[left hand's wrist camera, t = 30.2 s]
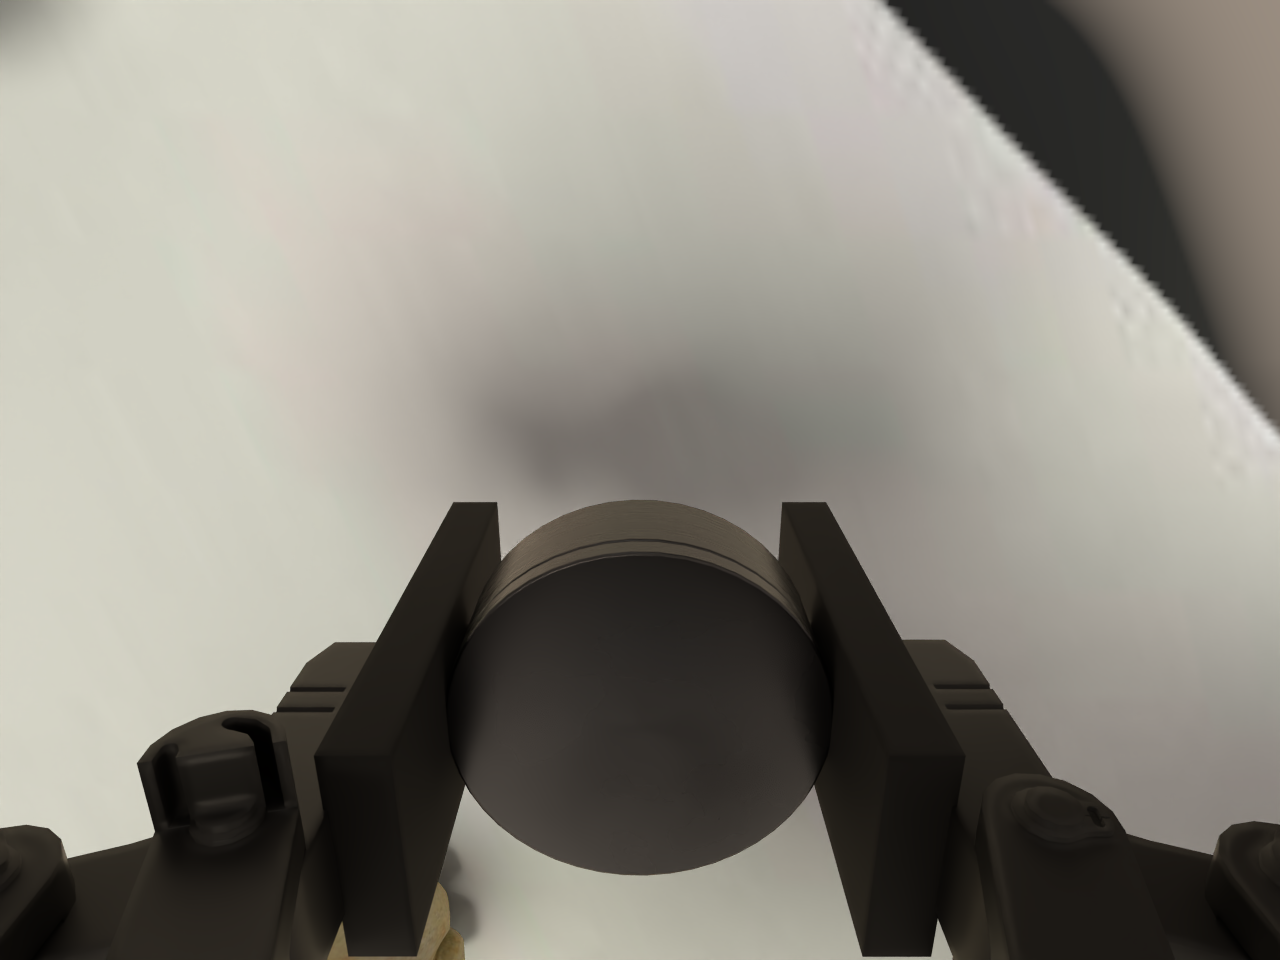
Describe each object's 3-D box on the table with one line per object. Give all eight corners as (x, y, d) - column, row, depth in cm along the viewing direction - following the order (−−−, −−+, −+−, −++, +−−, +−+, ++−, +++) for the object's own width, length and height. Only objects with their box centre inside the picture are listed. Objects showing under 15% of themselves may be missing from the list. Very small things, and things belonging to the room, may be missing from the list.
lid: (488, 795, 13) (467, 881, 11) (450, 504, 11) (420, 560, 10) (804, 785, 13) (826, 871, 11) (815, 491, 11) (844, 545, 10)
